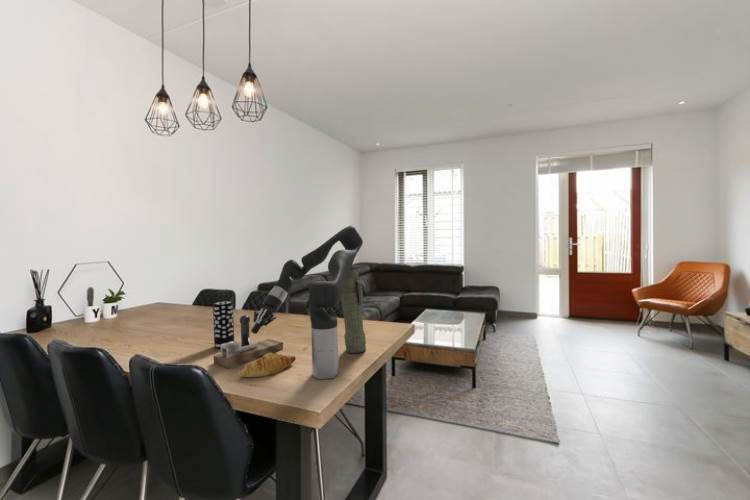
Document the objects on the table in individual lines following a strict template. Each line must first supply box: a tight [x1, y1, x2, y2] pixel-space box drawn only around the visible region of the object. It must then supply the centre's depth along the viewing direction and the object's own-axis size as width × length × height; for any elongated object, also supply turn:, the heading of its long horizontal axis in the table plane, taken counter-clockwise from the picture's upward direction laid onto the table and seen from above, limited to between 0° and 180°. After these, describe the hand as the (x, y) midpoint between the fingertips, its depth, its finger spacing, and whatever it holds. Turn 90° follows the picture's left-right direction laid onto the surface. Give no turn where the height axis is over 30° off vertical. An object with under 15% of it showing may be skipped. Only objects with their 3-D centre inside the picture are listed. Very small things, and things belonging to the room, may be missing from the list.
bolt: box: [239, 314, 259, 352], centre depth 136 cm, size 12×4×14 cm, turn 146°
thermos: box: [340, 268, 367, 354], centre depth 143 cm, size 9×12×35 cm
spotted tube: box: [212, 300, 235, 350], centre depth 151 cm, size 8×8×20 cm
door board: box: [213, 338, 284, 369], centre depth 138 cm, size 26×10×8 cm, turn 146°
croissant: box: [238, 352, 296, 378], centre depth 122 cm, size 21×10×8 cm, turn 130°
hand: (253, 332), depth 140 cm, fingers closed
